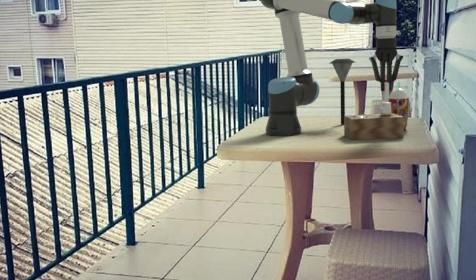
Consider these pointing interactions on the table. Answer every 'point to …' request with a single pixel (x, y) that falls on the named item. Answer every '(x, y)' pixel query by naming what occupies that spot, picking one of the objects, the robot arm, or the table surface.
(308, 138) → the table surface
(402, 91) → the smoothie
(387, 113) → the peg
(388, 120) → the block
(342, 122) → the solar garden light
